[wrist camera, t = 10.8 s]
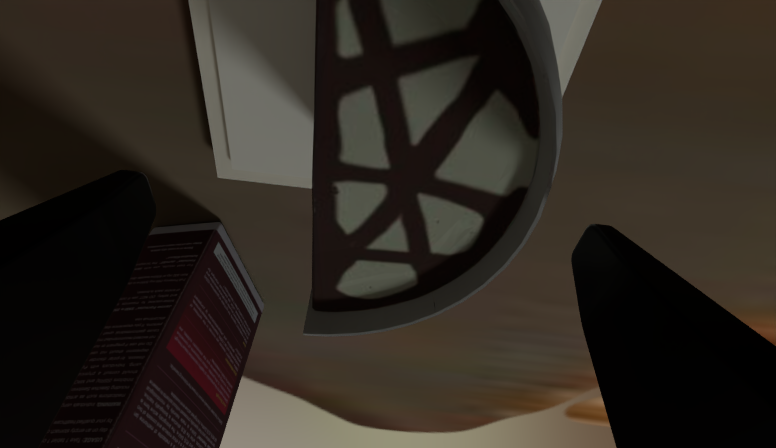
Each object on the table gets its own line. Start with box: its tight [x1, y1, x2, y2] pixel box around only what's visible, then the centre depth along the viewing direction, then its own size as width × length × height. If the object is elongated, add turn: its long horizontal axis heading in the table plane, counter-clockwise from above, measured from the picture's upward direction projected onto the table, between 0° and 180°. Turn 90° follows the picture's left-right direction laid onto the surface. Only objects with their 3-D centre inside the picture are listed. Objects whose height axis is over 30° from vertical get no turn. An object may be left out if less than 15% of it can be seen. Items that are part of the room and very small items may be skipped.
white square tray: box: [188, 0, 602, 189], centre depth 18 cm, size 16×16×2 cm
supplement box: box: [39, 222, 264, 448], centre depth 23 cm, size 9×5×16 cm, turn 8°
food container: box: [303, 0, 562, 336], centre depth 14 cm, size 12×6×10 cm, turn 173°
